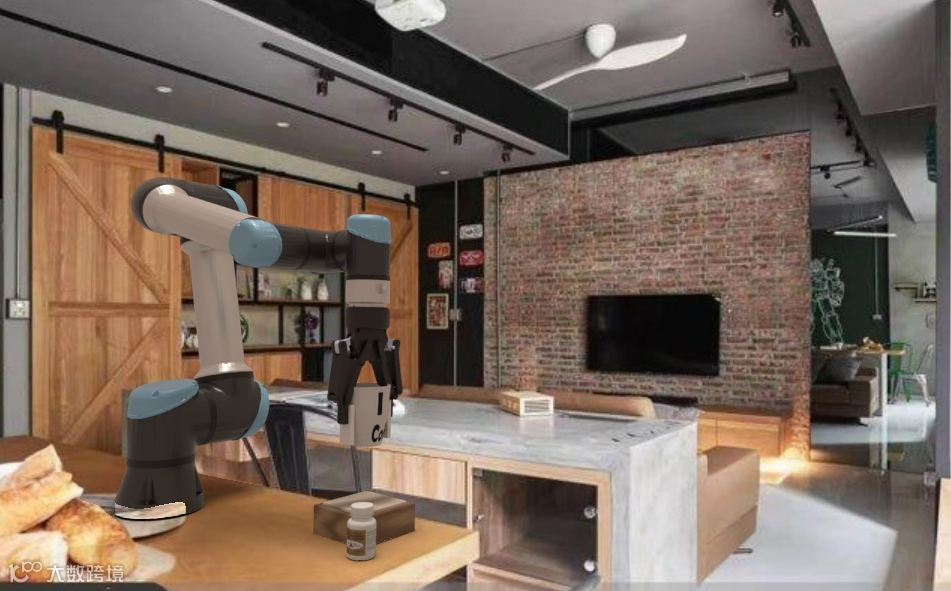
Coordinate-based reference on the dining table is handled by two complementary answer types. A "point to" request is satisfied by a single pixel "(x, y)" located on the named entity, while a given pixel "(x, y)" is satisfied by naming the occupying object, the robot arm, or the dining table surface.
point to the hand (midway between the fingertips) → (365, 440)
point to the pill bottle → (361, 532)
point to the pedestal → (387, 512)
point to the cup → (370, 413)
